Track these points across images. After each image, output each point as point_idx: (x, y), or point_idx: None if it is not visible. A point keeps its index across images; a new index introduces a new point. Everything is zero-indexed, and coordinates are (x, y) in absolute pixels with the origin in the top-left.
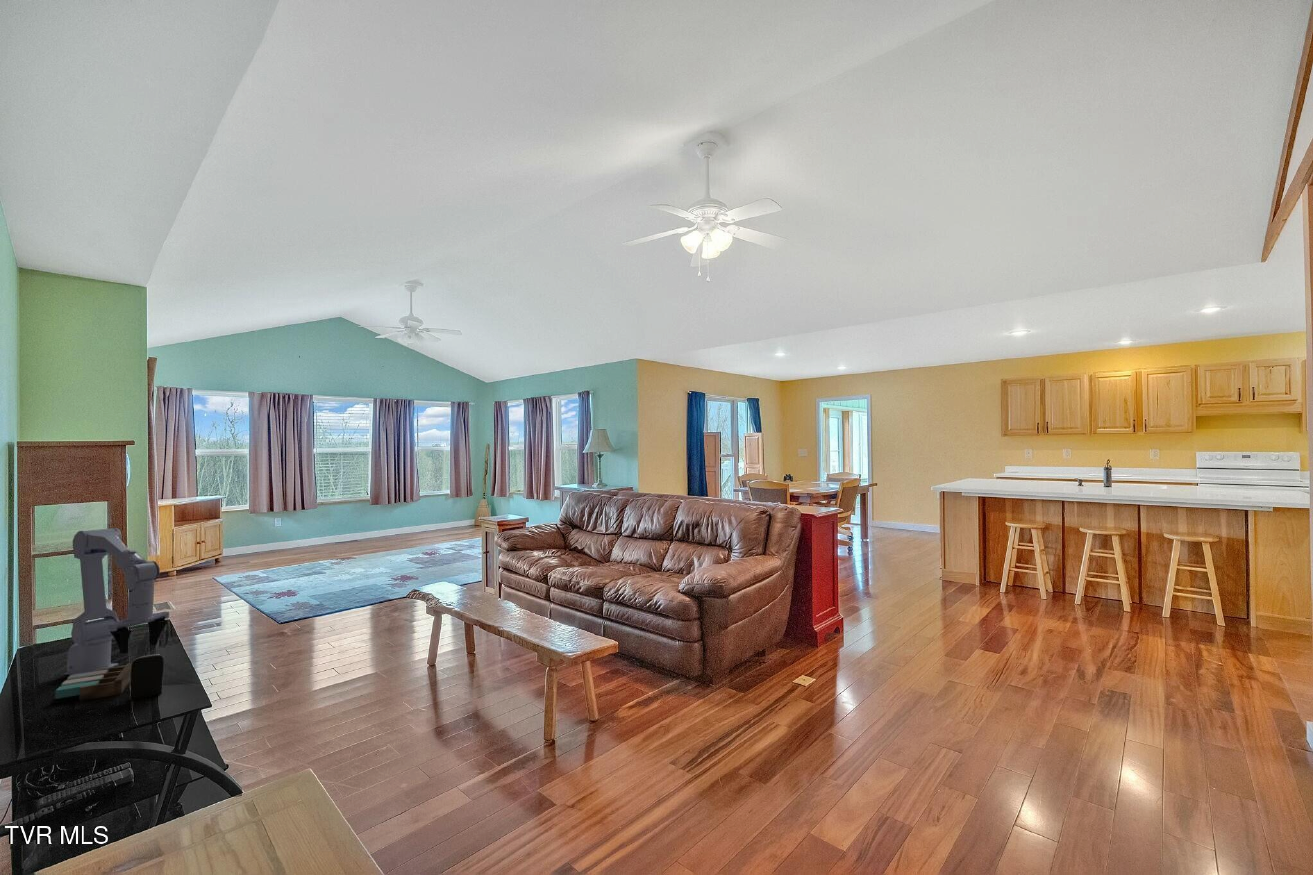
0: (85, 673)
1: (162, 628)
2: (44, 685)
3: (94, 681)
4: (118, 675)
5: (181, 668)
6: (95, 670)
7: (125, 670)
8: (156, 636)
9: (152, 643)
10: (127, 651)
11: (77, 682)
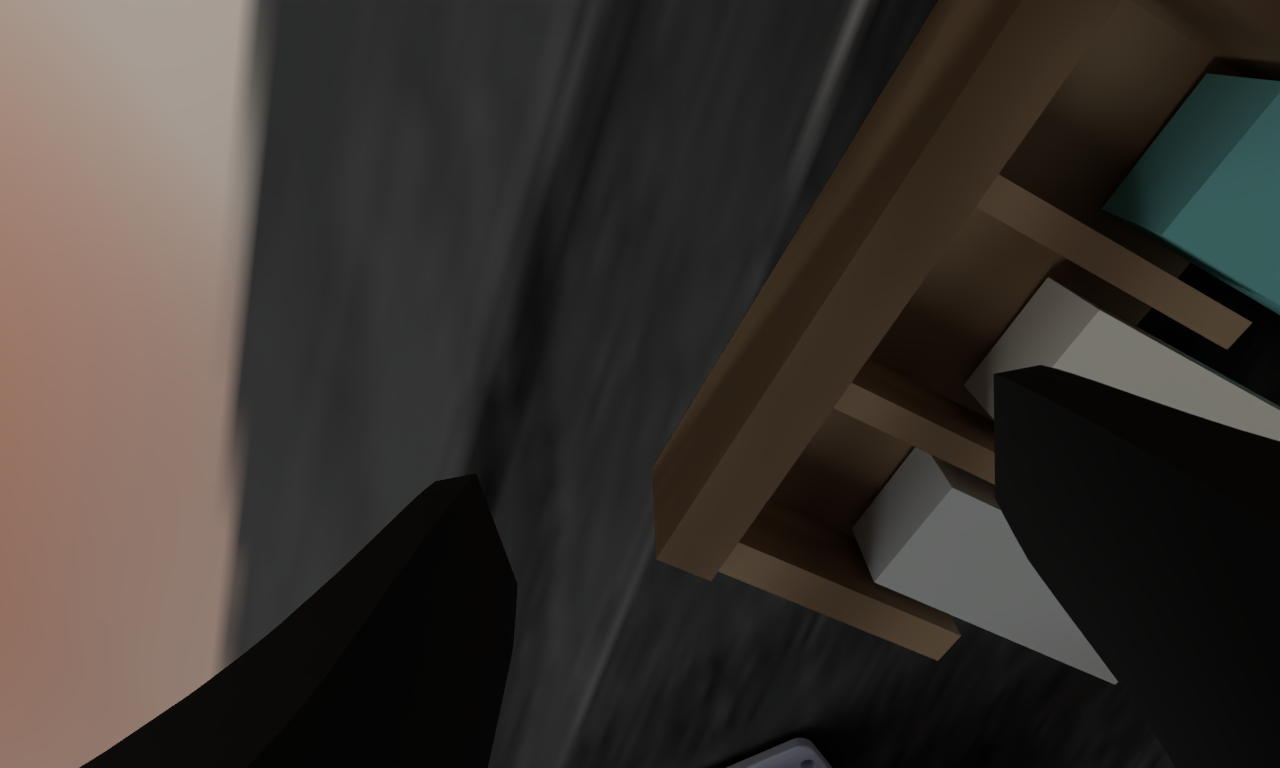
0: (1040, 624)
1: (143, 739)
2: (1090, 763)
3: (1203, 245)
4: (862, 373)
5: (257, 284)
6: (954, 635)
7: (858, 307)
8: (398, 570)
9: (488, 540)
10: (1007, 377)
11: (1259, 398)
